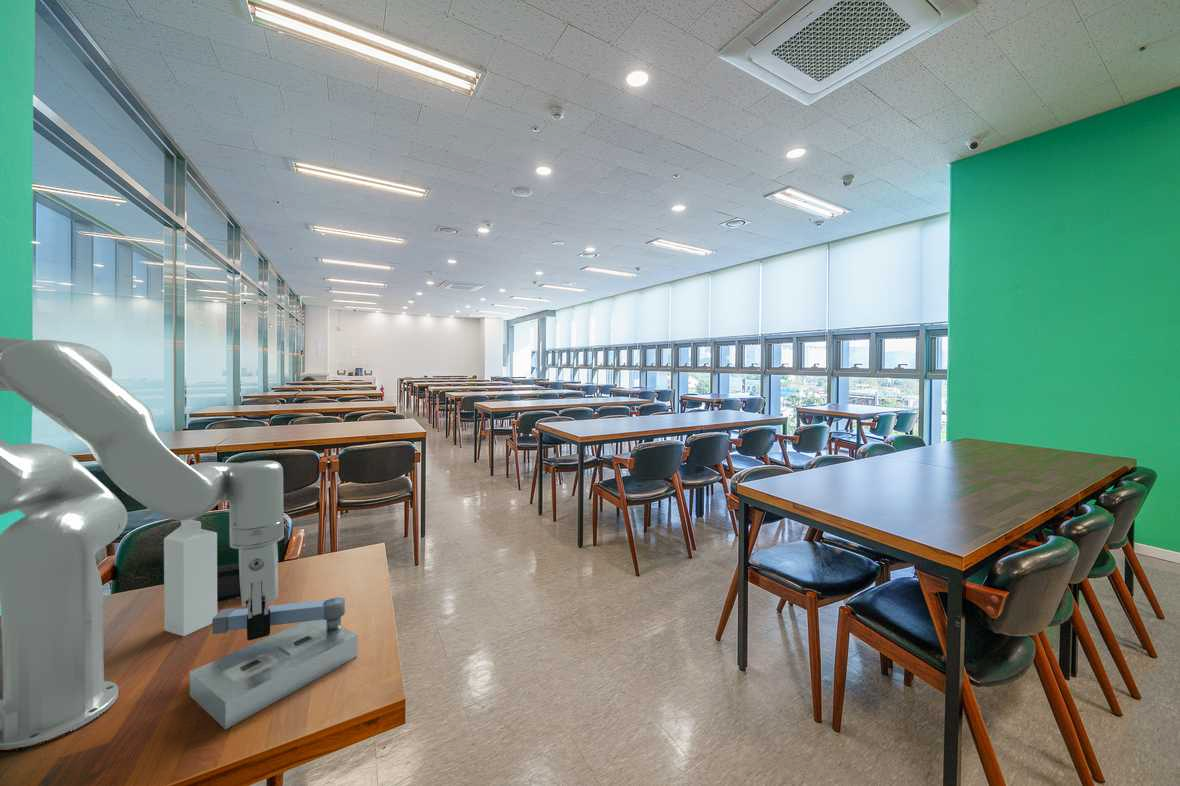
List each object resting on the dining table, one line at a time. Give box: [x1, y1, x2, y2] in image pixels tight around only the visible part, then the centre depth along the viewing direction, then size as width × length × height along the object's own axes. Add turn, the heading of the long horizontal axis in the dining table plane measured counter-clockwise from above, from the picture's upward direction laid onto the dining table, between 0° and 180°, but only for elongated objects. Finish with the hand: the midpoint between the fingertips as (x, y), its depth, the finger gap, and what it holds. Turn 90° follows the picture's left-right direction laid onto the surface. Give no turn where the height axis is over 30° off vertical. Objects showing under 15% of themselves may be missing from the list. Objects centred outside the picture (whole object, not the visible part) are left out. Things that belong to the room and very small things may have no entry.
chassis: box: [189, 616, 359, 730], centre depth 76 cm, size 20×13×6 cm, turn 150°
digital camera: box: [217, 562, 241, 603], centre depth 103 cm, size 10×5×7 cm, turn 120°
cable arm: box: [211, 596, 346, 635], centre depth 81 cm, size 20×4×3 cm, turn 106°
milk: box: [163, 519, 218, 637], centre depth 89 cm, size 6×6×22 cm
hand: (259, 635), depth 77 cm, fingers closed
